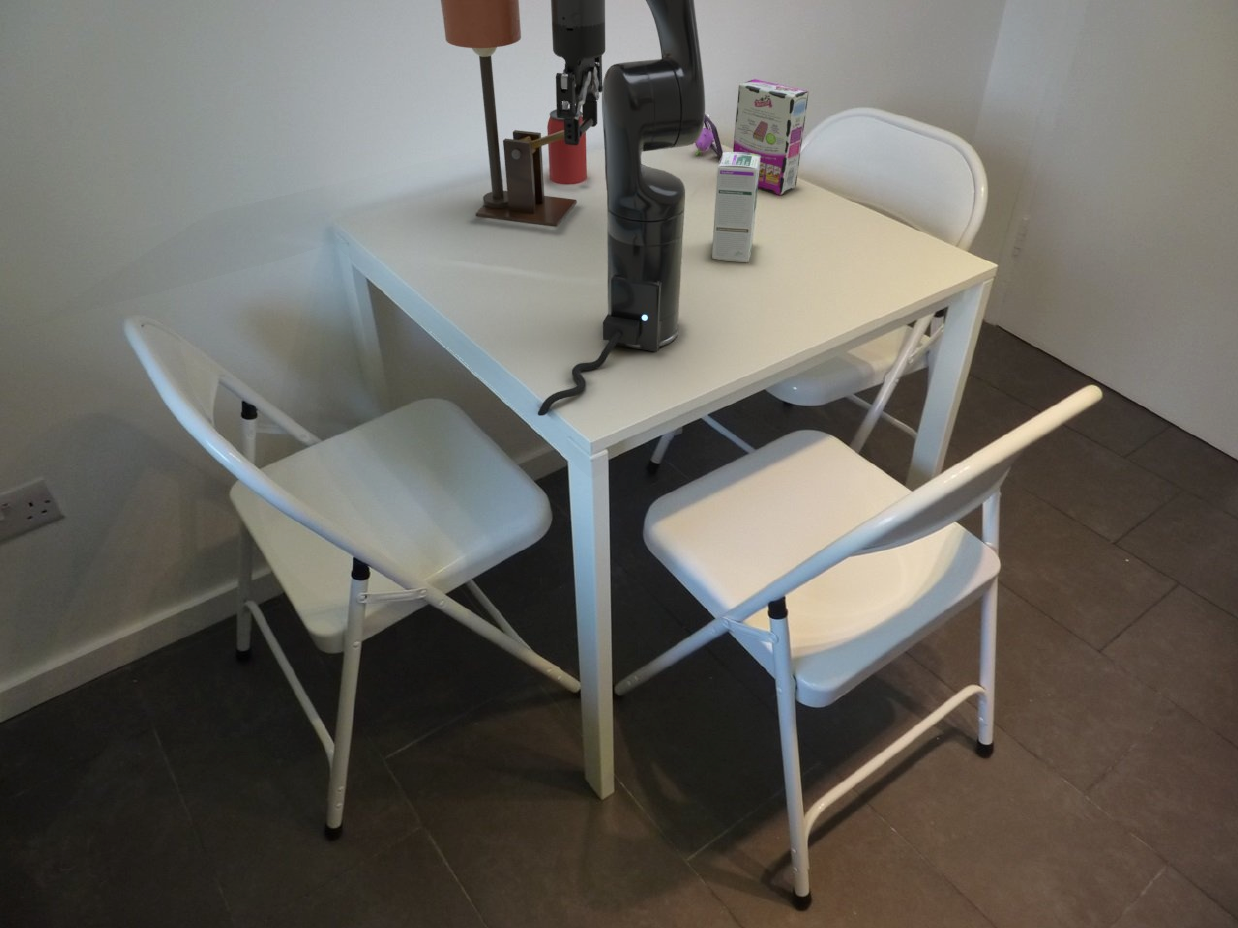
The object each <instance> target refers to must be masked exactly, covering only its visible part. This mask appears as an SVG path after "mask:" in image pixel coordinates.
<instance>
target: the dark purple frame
mask: <svg viewBox="0 0 1238 928" xmlns="http://www.w3.org/2000/svg"><path fill="white" fill-rule="evenodd" d="M710 118H711V117H710V115H709V114H707V113H705V120H704V127H703V130H702V133H701V136H700V138H699V139H698V140H697V141H696V142H695V143H694V145H695V147H696V149H697V151H696V152H695V153H696V154H695V157H698V156H699V155H700V153H701V152H706V151H707V150H709V148H710V147H711V148H712V149H713V151H714V152H715V154H717V156H718V158H720V159H721V157H722V154H723V152H724V150H723V148H722V144H721V140H720V137H719V132H718V129H717V126H716V125H715V124H714V123H713V121H712V120H711V119H710Z"/></svg>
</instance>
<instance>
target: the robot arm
mask: <svg viewBox="0 0 1238 928" xmlns="http://www.w3.org/2000/svg"><path fill="white" fill-rule="evenodd" d="M645 2H646V4H647V6H648V8H649V11H650V13H651V16H652V18H653V21H654V24H655V29H656V32H657V37H658V42H659V47H660V55H661V56H660V57H661V58H658V59H657V58H655V59H647V60H635V61H634V60H633V61H627V62H625V61H624V62H619V63H615V64H612V65H611V66H610V67H609V68H608V69H607V70H606V71H605V74H604V78H603V55H604V54H605V52H606V0H550V13H551V31H552V32H551V33H552V34H551V35H552V52H553V54H554V55H555V56H557V57H558V58H562V59H563V61H564V69H563V70H562V73H561V72H556V74H555V97H556V98H555V101H556V105H555V106H556V109H557V118H564V140H565V143H566V144H567V145H574V146H577V145H578V144H579V143H580V121H579V117H580V111H581V112H582V117H583V121H584V120H585V119H586V118H588V117H589V118H591V119H592V120H593V125H592V126H591V127H590V128H595V127H597V125H598V101H599V99H600V93H601V116H602V129H603V142H604V143H603V145H604V146H603V147H604V174H605V185H606V196H607V197H606V205H607V207H606V208H607V210H606V211H607V215H606V217H607V229H606V230H607V232H606V233H607V235H606V239H607V243H606V244H607V246H606V247H607V248H606V249H607V314H606V316H605V318H604V320H603V321H602V341H608V342H607V344H606V345H605V346H604V348H603V349H602V351H601V353H600V355H599V356H598V357H597V359H596V360H593V361H590V362H580V363H578V364H576V365H574V367H573V368H572V369H571V375H572V377H573V379H574V380H575V381H576V382H577V385H576V386H574V387H572V388H567V389H564V390H560V391H556V392H555V393H552V394H551V395H549V396H548V397H547V398H546V399H545V400H544V401H543V402H542V404H541V406H540V407H539V409H538V411H537V415H538V416H540V417H542V416H545V415H547V413H548V411H549V409H550V408H551V407H552V405H553V404H554V403H556V402H558V401H560V400H563V399H567V398H571V397H574V396H577V395H579V394H581V393H582V392H583V391H585V389H586V387H587V382H586V379H585V377H583V375H582V373H581V372H582V371H591V370H595V369H598V368H600V367H601V366H603V365H604V364H605V362H606V361H607V359H608V357H609V356H610V354H611V352H612V351H613V349H614V348H615V347H616V346H619V347H623V348H631V349H636V350H643V351H649V352H657V351H658V350H659V349H660V347H664V346H666V345H668V344H670V343H672V342H673V341H674V340H675V339H676V338H677V337H678V335H679V311H680V292H681V275H682V274H681V273H682V259H683V258H682V257H683V241H684V240H683V239H684V238H683V237H684V226H685V225H684V223H685V205H686V188H685V185H684V183H683V181H682V180H681V179H680V178H679V177H678V176H676V175H675V174H673V173H670V172H668V171H666V170H662V169H658V168H655V167H651V166H648V165H645V164H643V163H642V153H645V152H651V151H662V150H667V149H675V148H684V147H689V146H691V145H695V142H696V141H697V140H698V139H699V138H700V136H701V133H702V130H703V128H704V127H705V123H704V120H705V114H706V91H705V90H706V89H705V79H704V70H703V62H702V61H703V60H702V54H701V47H700V39H699V32H698V31H699V30H698V22H697V16H696V15H697V14H696V6H695V0H645ZM568 108H570V110H568ZM581 108H582V109H581ZM539 581H540V582H539V583H540V587H541V588H547V586H548V578H547V577H543V576H540V577H539Z"/></svg>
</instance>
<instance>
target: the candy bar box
mask: <svg viewBox="0 0 1238 928" xmlns="http://www.w3.org/2000/svg"><path fill="white" fill-rule="evenodd" d="M737 91H738V92H737V102H736V113H735V114H736V115H735V125H734V137H733V147H732V148H733V150H732V152H745V153H753V154H759V155H760V168H759V179H758V189H759V190H762V191H766V192H769V193H772V194H776V195H779V196H782V195H784V194H786V193H789V192H790V191H793V190H794V189H796V187H797V180H798V173H799V165H800V159H801V158H800V157H801V151H802V144H803V143H802V142H803V136H804V130H805V129H804V128H805V123H806V122H805V121H806V114H807V107H808V101H809V100H808V99H809V93H810V92H809V91H808V90H804V89H800V88H796V87H793V86H792V87H791V86H787V85H783V84H779V83H775V82H770V81H766V80H762V79H757V78H754V79H750V80H747V81H745V82H742V83H740V84H738V90H737Z"/></svg>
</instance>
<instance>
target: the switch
mask: <svg viewBox="0 0 1238 928" xmlns="http://www.w3.org/2000/svg"><path fill="white" fill-rule="evenodd" d="M592 125H593V120H592V119H591V118H589V117H588V118H586V119H585V120H584V121H583V122H582V123H581V124H580V137H581V136H582V135H583V134H584V133H585V132H586V133H587V131H588V130H589V129H590V128H592V127H591V126H592ZM561 139H564V130H562V131H559V132H556V133H553V134H551V135H548V134H547V135H545V136H541V138H539V139H536V140H533V141H532V154H533V153H534V152H535V151H536V150H535V148H537V147H540V146H542V147H543V146H546V145H548V144H549V143H552V142H555V141H558V140H561ZM519 140H523V141H531V138H530V136H528V137H525V138H522V139H519Z"/></svg>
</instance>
